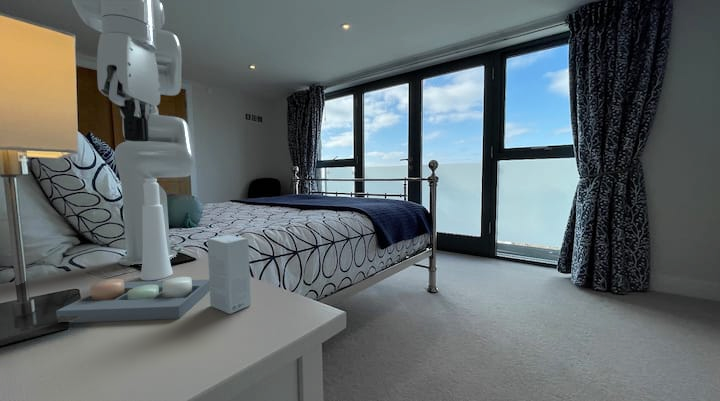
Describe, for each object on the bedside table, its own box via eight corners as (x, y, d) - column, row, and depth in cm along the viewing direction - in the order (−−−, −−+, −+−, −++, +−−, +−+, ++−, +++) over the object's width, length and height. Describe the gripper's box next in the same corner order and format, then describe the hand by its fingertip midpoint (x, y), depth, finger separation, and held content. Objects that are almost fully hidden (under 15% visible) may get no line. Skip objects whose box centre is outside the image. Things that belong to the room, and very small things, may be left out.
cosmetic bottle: (140, 275, 67) (133, 178, 65) (171, 270, 70) (166, 178, 68) (140, 283, 62) (133, 178, 60) (174, 277, 66) (168, 178, 64)
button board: (115, 292, 57) (114, 282, 57) (211, 289, 58) (210, 279, 58) (57, 323, 45) (56, 310, 45) (179, 318, 47) (178, 306, 46)
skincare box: (251, 305, 51) (249, 238, 50) (229, 315, 48) (226, 243, 47) (231, 297, 55) (229, 234, 53) (209, 306, 51) (205, 238, 50)
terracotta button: (105, 291, 53) (104, 279, 53) (130, 291, 54) (129, 278, 53) (84, 302, 49) (83, 288, 49) (112, 301, 49) (111, 287, 49)
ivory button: (172, 289, 54) (171, 277, 54) (196, 288, 54) (196, 276, 54) (157, 299, 50) (156, 286, 50) (184, 298, 50) (183, 285, 50)
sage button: (139, 297, 54) (138, 285, 54) (164, 296, 54) (163, 284, 54) (121, 308, 49) (120, 294, 49) (149, 307, 50) (148, 293, 50)
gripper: (136, 53, 59) (142, 144, 61) (69, 13, 45) (80, 135, 46) (174, 54, 60) (179, 145, 62) (122, 15, 45) (130, 135, 47)
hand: (137, 140), depth 54 cm, fingers closed
